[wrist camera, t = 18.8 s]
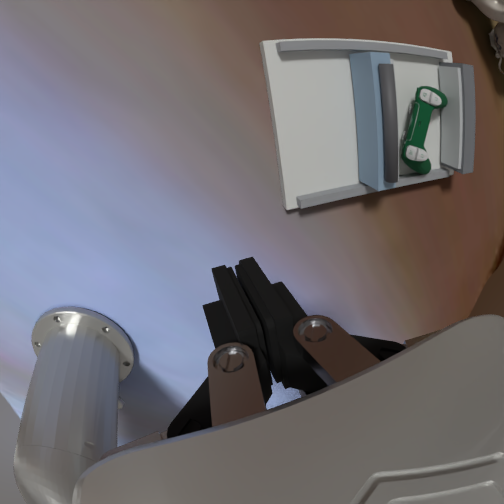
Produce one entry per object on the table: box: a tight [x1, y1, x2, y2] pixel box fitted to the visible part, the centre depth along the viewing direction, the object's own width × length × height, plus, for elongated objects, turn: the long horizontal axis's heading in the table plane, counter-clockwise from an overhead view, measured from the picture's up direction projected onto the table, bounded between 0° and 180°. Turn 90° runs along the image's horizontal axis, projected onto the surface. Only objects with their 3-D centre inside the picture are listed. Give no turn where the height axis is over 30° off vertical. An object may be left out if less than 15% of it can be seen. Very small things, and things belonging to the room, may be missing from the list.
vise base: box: [260, 39, 475, 210], centre depth 24 cm, size 15×22×4 cm
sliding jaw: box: [349, 52, 399, 191], centre depth 23 cm, size 12×2×4 cm, turn 9°
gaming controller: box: [401, 86, 448, 174], centre depth 25 cm, size 9×4×6 cm
